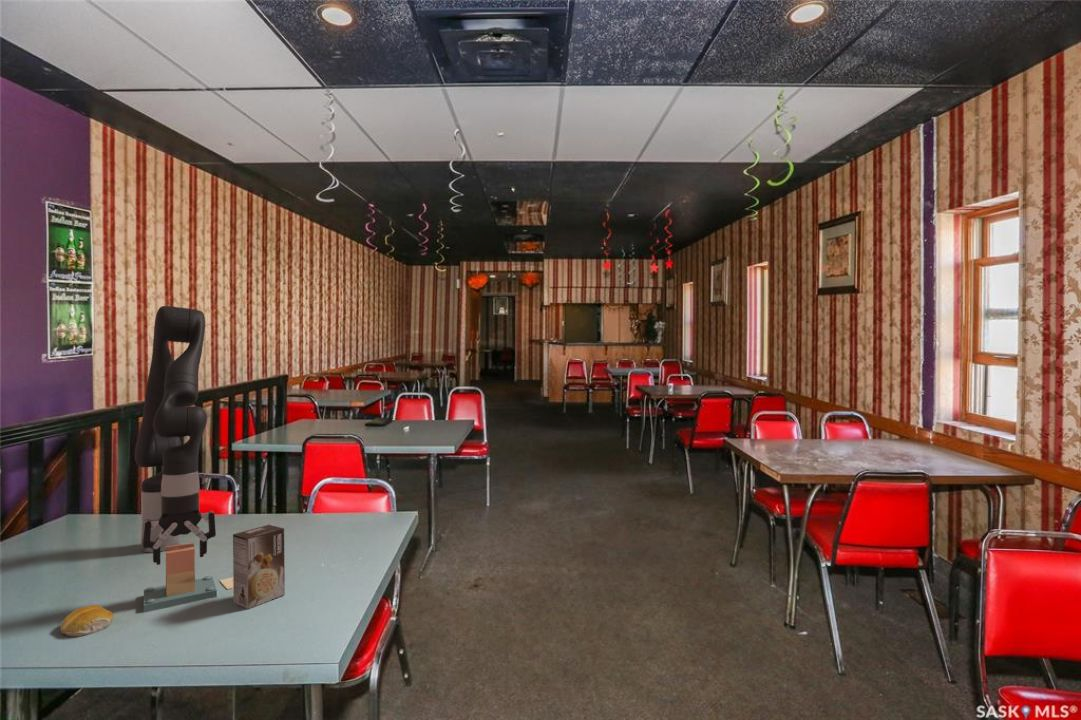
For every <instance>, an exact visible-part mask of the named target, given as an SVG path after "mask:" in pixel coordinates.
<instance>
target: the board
mask: <svg viewBox="0 0 1081 720" xmlns="http://www.w3.org/2000/svg"><path fill="white" fill-rule="evenodd" d="M217 592H218V591H217V587H216V584H215V580H214V576H211V575H207V576H204V577H202V578H197V579H196V578H195V591H194V592H189V593H184V594H179V595H174V596H169V597H167V595H166V584H165V585H160V586H157V587H156V586H155V587H154V586H150V587H146V588H145V589H143V613H146V612H151V611H155V610H156V611H157V610H160V609H164V608H169V607H174V606H179V605H184V604H189V603H193V601H194V602H197V601H203V600H207V599H211V598H216V597H217V596H218V595H217Z"/></svg>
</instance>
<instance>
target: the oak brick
mask: <svg viewBox="0 0 1081 720" xmlns="http://www.w3.org/2000/svg"><path fill="white" fill-rule="evenodd" d="M195 580H196V569H195V570H193V571H187V572H182V573H176V574H171V575H166V574H165V585H166V595H167V597H169V596H174V595H179V594H184V593H189V592H194V591H195Z"/></svg>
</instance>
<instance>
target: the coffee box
mask: <svg viewBox="0 0 1081 720" xmlns="http://www.w3.org/2000/svg"><path fill="white" fill-rule="evenodd" d="M232 558H233V559H232V564H233V565H232V570H233V571H232V573H233V574H232V577H233V589H232V590H233V600H232V601H233V604H235V605H237V606H240V607H243V608H245V609H247V610H249V609H252V608H255V607H257V606H260V605H262V604H266V603H267V602H270V601H272V599H273V600H274V599H275V600H276V599H277V598H280V597H283V596H285V594H286V593H285V591H286V590H285V589H286V588H285V587H286V583H285V581H286V580H285V579H286V578H285V577H286V575H285V573H286V572H285V567H286V566H285V528H283V527H280V526H276V525H271V524H266V525H263V526H258V527H255V528H252V529H248V530H244V531H241V532H238V533H237V532H236V533H234V534H232Z"/></svg>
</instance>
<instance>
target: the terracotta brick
mask: <svg viewBox="0 0 1081 720" xmlns="http://www.w3.org/2000/svg"><path fill="white" fill-rule="evenodd" d="M195 551H196V550H195V544H194V542H186V543H179V545H173V546H166V550H165V576H166V575H171V574H176V573H182V572H187V571H193V570H195V571H196V568H195V558H196V557H195Z"/></svg>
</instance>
